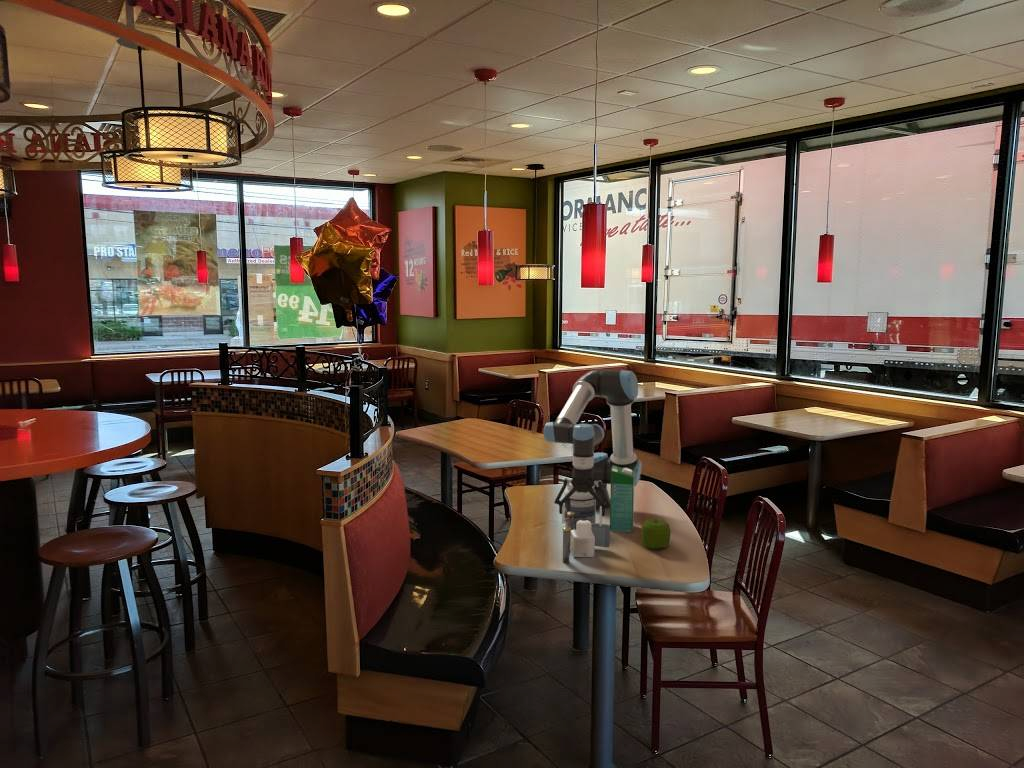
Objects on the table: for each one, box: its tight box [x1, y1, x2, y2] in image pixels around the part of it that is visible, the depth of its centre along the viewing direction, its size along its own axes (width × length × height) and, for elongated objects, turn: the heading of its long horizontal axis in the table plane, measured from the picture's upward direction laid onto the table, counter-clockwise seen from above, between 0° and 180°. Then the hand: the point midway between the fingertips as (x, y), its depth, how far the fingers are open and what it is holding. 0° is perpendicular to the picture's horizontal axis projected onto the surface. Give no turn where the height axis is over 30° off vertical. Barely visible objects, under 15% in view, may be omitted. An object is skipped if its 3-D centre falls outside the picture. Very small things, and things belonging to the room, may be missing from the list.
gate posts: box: [561, 512, 574, 564], centre depth 265 cm, size 20×3×13 cm, turn 170°
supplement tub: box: [564, 479, 597, 530], centre depth 295 cm, size 13×13×18 cm
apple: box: [640, 518, 672, 550], centre depth 272 cm, size 11×11×11 cm
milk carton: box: [609, 465, 635, 533], centre depth 292 cm, size 9×9×25 cm
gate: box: [592, 522, 611, 549], centre depth 271 cm, size 13×2×9 cm, turn 70°
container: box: [570, 518, 596, 558], centre depth 265 cm, size 8×8×13 cm
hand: (581, 523), depth 264 cm, fingers open, 13 cm apart
